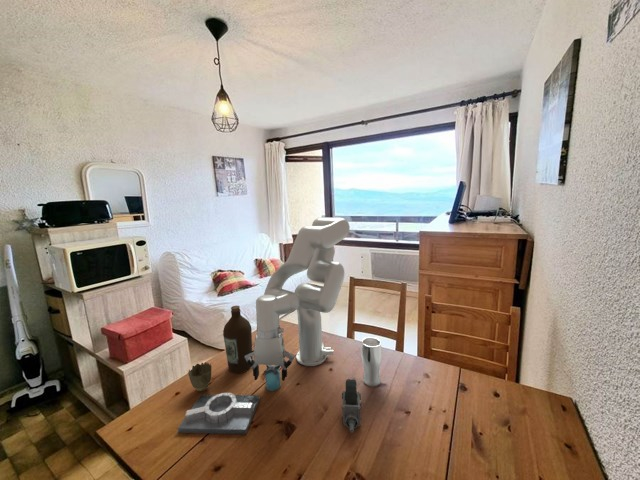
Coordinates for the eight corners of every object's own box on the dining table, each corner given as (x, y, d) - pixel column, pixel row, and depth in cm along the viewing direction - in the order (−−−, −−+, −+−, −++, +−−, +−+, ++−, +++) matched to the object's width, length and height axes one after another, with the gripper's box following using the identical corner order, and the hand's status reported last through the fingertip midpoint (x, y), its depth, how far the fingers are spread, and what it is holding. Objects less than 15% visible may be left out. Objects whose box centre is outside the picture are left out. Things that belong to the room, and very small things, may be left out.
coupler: (281, 381, 95) (280, 363, 94) (278, 391, 90) (277, 372, 89) (268, 380, 95) (266, 363, 94) (264, 390, 90) (262, 372, 89)
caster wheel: (342, 401, 85) (341, 438, 71) (342, 373, 85) (340, 404, 70) (360, 402, 85) (362, 440, 70) (359, 373, 84) (361, 405, 69)
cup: (205, 398, 88) (202, 376, 87) (186, 395, 90) (183, 374, 88) (217, 383, 95) (215, 362, 94) (200, 380, 97) (197, 361, 96)
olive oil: (241, 355, 112) (236, 299, 108) (259, 362, 106) (255, 304, 103) (221, 369, 103) (214, 309, 99) (239, 378, 97) (233, 314, 94)
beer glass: (359, 384, 91) (359, 345, 89) (364, 372, 98) (363, 335, 95) (380, 389, 89) (379, 348, 86) (383, 376, 95) (383, 338, 93)
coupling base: (259, 399, 86) (258, 388, 86) (246, 434, 74) (245, 421, 73) (201, 398, 88) (200, 388, 87) (178, 432, 75) (176, 420, 74)
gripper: (295, 327, 92) (296, 372, 95) (247, 326, 94) (249, 370, 96) (291, 337, 85) (293, 386, 87) (239, 336, 86) (242, 384, 88)
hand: (270, 377), depth 91 cm, fingers open, 9 cm apart
